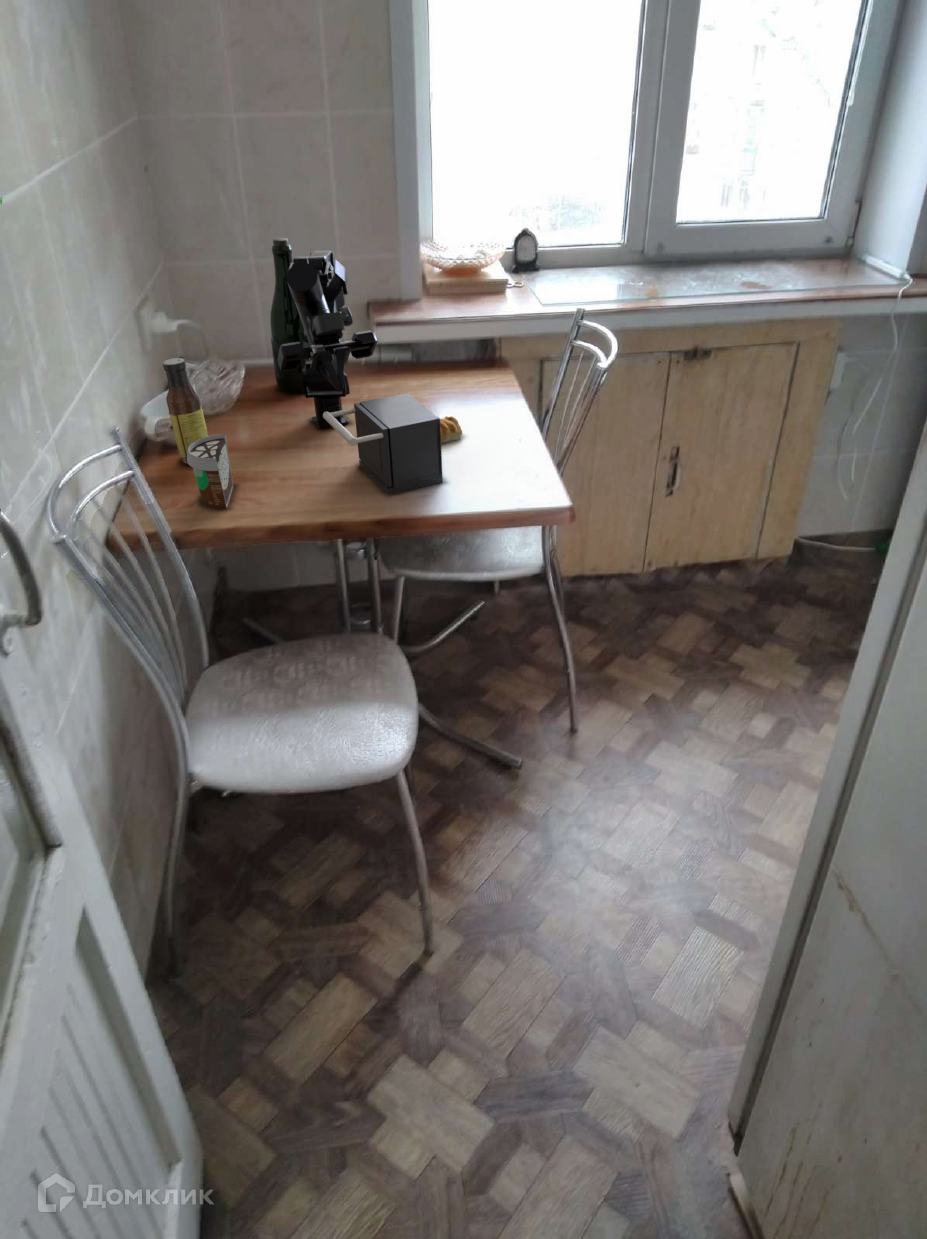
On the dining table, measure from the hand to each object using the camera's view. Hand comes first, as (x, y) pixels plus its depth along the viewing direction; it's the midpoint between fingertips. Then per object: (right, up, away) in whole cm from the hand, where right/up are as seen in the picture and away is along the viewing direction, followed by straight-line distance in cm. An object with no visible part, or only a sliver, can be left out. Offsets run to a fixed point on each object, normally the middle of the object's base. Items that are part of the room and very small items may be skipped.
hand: (341, 390), depth 172 cm
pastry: (+18, -6, +14) cm, 24 cm away
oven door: (+4, -17, -3) cm, 17 cm away
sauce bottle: (-30, -12, +8) cm, 33 cm away
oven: (+11, -16, 0) cm, 19 cm away
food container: (-23, -21, -6) cm, 32 cm away
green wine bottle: (-16, +11, +43) cm, 47 cm away
